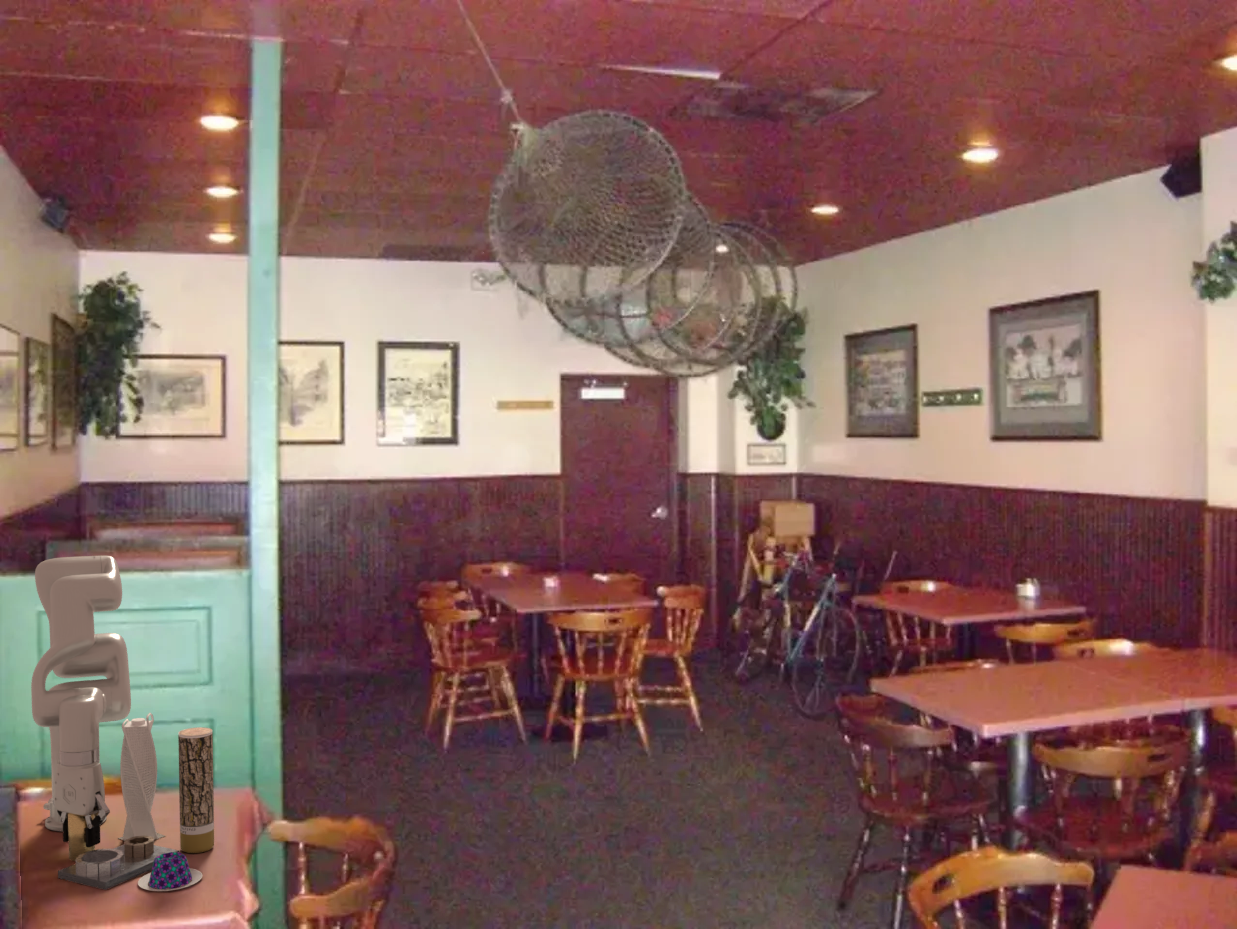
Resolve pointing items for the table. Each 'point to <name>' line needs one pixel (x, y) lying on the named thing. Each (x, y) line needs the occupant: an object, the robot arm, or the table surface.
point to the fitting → (77, 835)
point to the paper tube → (196, 789)
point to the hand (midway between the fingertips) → (81, 841)
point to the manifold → (114, 863)
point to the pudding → (170, 873)
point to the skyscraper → (138, 777)
